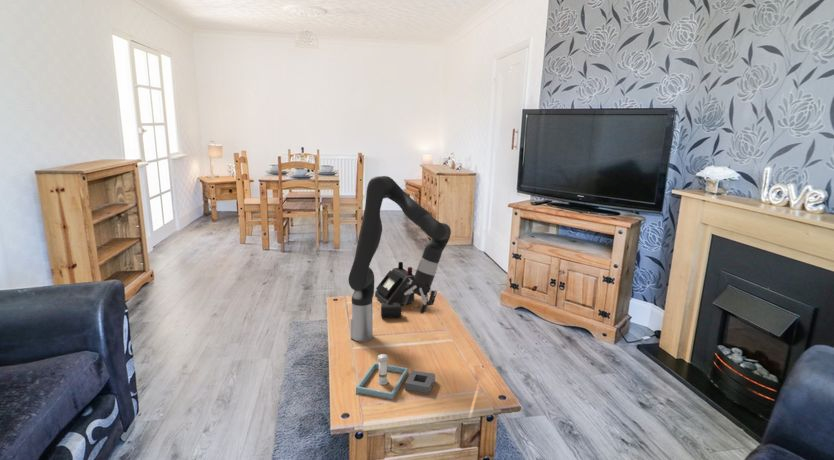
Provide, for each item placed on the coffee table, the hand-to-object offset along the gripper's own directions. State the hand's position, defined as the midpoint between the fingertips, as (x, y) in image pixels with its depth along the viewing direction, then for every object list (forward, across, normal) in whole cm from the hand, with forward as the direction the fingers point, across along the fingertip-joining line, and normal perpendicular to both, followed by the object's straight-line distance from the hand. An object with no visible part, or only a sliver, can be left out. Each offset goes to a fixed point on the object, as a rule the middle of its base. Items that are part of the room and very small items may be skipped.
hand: (413, 308), depth 178 cm
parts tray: (+28, +5, -13) cm, 31 cm away
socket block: (+24, +17, -8) cm, 30 cm away
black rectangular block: (+21, -28, +37) cm, 51 cm away
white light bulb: (+27, +5, -13) cm, 30 cm away
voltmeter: (+18, -39, +55) cm, 70 cm away
